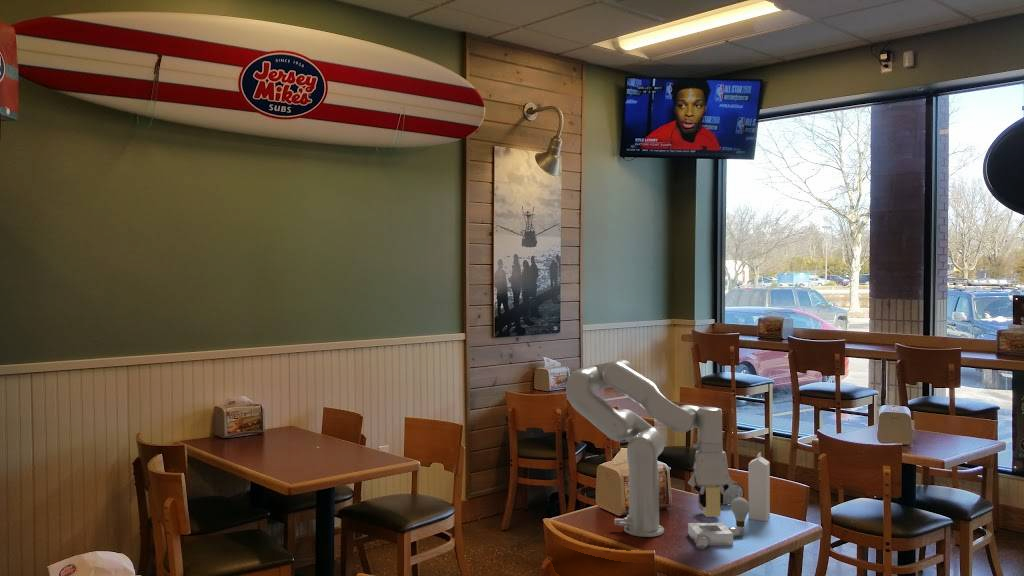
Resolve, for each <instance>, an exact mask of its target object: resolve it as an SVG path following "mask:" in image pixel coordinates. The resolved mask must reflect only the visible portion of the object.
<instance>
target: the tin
mask: <svg viewBox="0 0 1024 576" xmlns="http://www.w3.org/2000/svg"><path fill="white" fill-rule="evenodd" d="M733 481H734V484H732V485H731V486H730V487H728V489H727V490H726V491H725V492H724V494H723V503H722V506H728V505H727V504H731V503H732V501H733V500H734V499H735V498H738V497H741V498H744V497H745V490H744V487H743V486H742V484H740V483H739V482H738V481H736V480H733ZM744 499H745V498H744Z"/></svg>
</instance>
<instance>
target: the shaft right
mask: <svg viewBox="0 0 1024 576" xmlns="http://www.w3.org/2000/svg"><path fill="white" fill-rule="evenodd" d="M727 528H728V529H729V530H730V531H731V532H732V533H733V538H739V537H740V538H741V537H743V536H744V535H745V531H744V527H743V528H742V527H737V526H733V527H727Z"/></svg>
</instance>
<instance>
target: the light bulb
mask: <svg viewBox="0 0 1024 576" xmlns="http://www.w3.org/2000/svg"><path fill="white" fill-rule="evenodd" d="M730 510H731V511H732V514H733V515H734V518H735V525H736V526H735V527H742V528H743V529H744V528H745V523H746V518H747V515H749V510H750V506H749V500H747V499H746V498H741V497H738V498H735V499H734V500H733V501H732V503H731V505H730Z"/></svg>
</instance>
